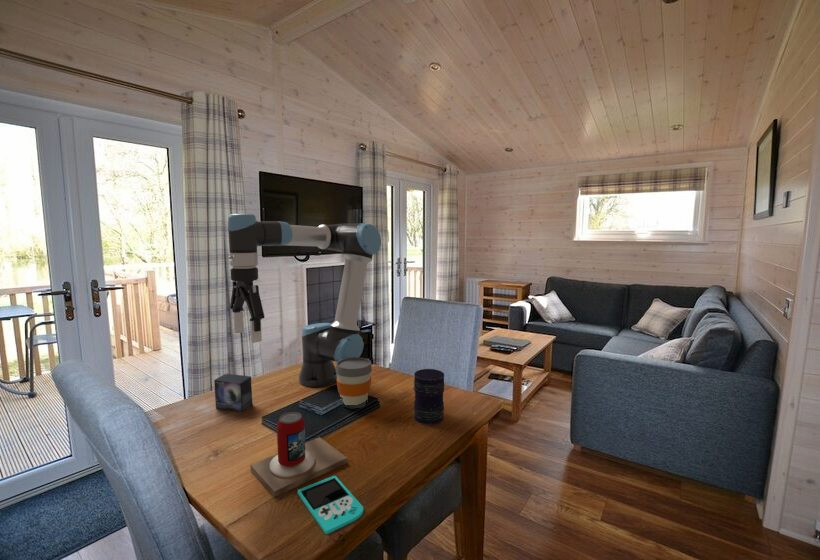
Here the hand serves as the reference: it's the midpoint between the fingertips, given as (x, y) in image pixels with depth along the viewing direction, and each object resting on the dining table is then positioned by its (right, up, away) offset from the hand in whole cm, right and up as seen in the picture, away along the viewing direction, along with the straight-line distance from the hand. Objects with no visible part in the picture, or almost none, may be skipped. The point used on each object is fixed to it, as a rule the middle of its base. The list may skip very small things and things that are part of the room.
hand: (247, 337), depth 120 cm
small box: (-12, -27, +17) cm, 34 cm away
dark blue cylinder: (+55, -28, +10) cm, 63 cm away
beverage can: (+19, -29, -18) cm, 39 cm away
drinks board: (+20, -31, -17) cm, 41 cm away
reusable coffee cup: (+29, -27, +20) cm, 45 cm away
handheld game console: (+31, -34, -30) cm, 55 cm away
